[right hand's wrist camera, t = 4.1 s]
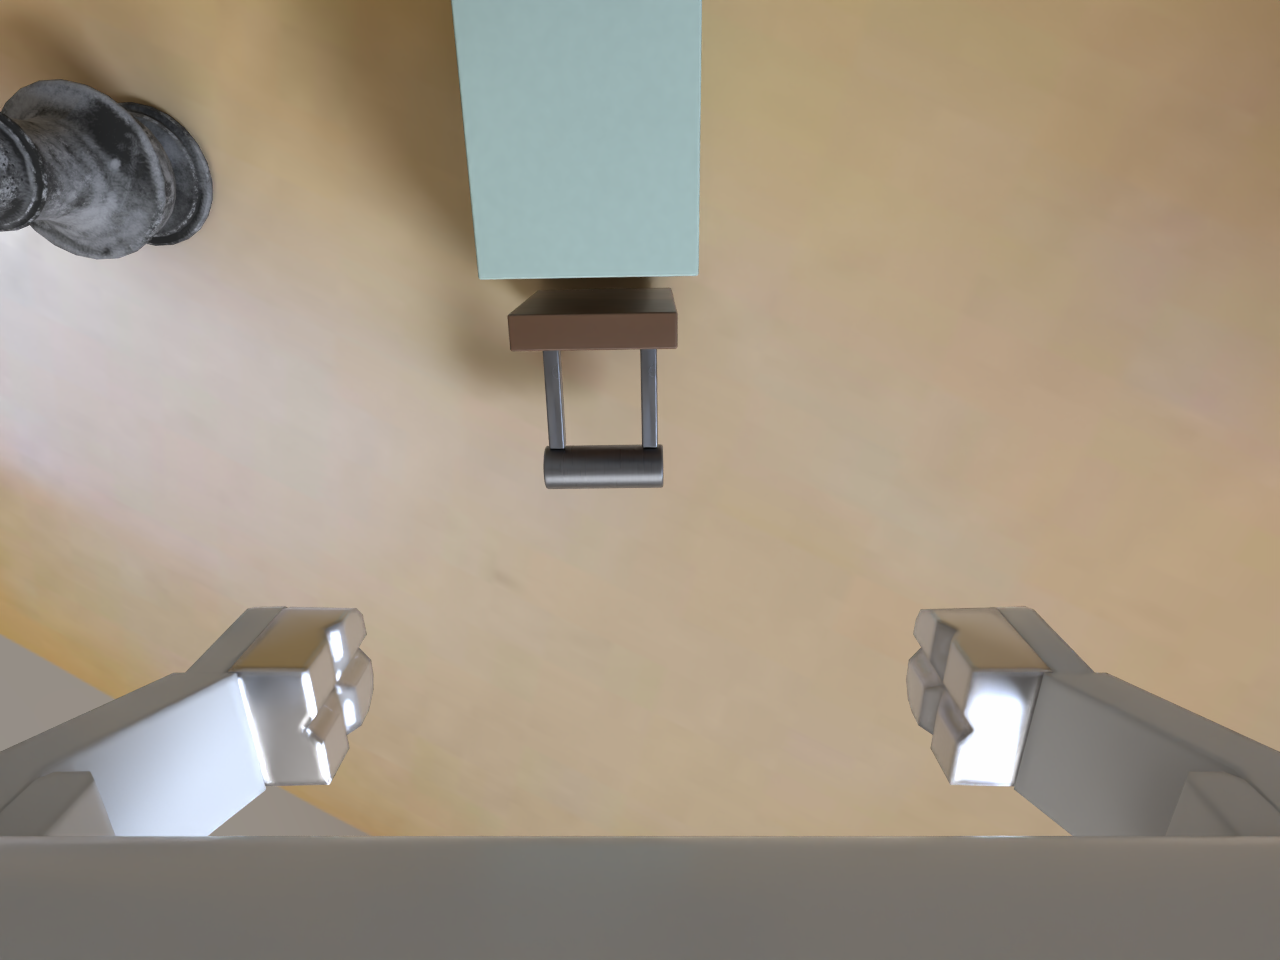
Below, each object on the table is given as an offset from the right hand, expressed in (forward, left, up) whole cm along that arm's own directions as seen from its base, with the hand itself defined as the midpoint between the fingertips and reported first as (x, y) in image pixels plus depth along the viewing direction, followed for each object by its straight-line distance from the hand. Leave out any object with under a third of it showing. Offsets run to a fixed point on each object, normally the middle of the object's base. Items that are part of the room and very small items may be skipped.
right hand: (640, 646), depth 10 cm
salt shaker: (+13, +17, -22) cm, 31 cm away
